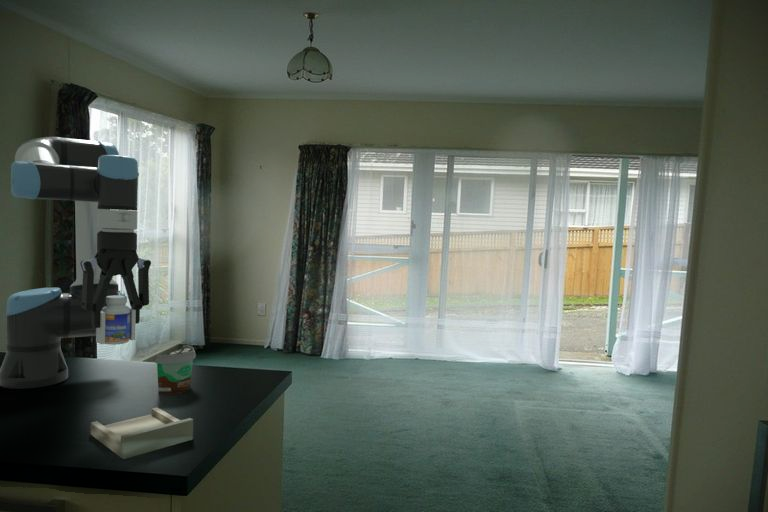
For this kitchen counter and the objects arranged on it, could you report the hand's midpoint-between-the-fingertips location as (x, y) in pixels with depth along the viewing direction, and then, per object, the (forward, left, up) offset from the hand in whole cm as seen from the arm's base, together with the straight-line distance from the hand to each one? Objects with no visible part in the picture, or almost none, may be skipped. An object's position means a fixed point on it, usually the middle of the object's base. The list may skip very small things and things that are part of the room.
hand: (115, 340), depth 115 cm
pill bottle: (0, 0, -1) cm, 1 cm away
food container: (-10, +20, -17) cm, 28 cm away
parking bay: (+12, 0, -17) cm, 21 cm away
